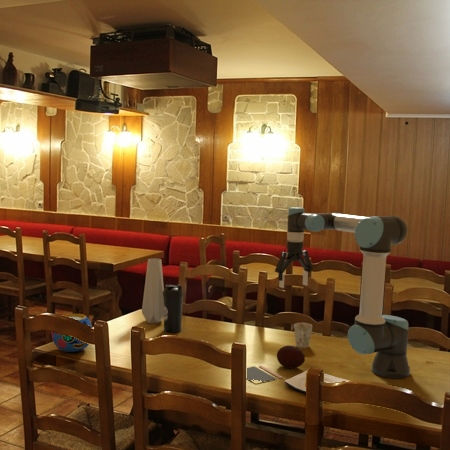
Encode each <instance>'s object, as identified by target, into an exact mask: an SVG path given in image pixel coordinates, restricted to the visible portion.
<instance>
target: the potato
mask: <svg viewBox="0 0 450 450" xmlns="http://www.w3.org/2000/svg"><path fill="white" fill-rule="evenodd" d="M276 358H277V361H278V363H279V364H280V366H282V367H283V368H286V369H297V368H299V367H300V366H302V365H303V364H304V363H305V361H306V360H305V359H306V357H305V354H304V352H303V351H302V350H301V348H299V347H297V346H296V345H283V346H282V347H281V348H279V349H278V350H277V353H276Z"/></svg>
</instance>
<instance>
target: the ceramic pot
mask: <svg viewBox="0 0 450 450" xmlns="http://www.w3.org/2000/svg"><path fill="white" fill-rule="evenodd" d="M61 316H65V317H69V318H73V319H75V320H78V321H79V322H81V323H83V324H86V325H88V326H90V327H91V328H93V325H92V322H91V321H90V319H89V317H87V316H86V315H84V314H81V313H68V314H62V315H61ZM51 338H52V341H53V344H54V345H55V347H56V348H57V349H58V350H61V351H64V352H67V353H76V352H80V351H82V350H84V349H86V348H87V347H88V346H89V345H90V343H89V344H87V343H84V342H82V341H80V340H78V339H76V338H74V337H71V336H65V335H60V334H56V333H53V332H52V331H51Z"/></svg>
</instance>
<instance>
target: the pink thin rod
mask: <svg viewBox="0 0 450 450" xmlns="http://www.w3.org/2000/svg"><path fill="white" fill-rule="evenodd" d="M258 366H259V367H258V368H260V367H261V368H260V369H261V370H263V369H264V371H265V370H266V371H265V372H267V371H268V372H267V373H269V374H270V375H272V374H273V376H274V375H275V376H274V377H275V378H278V379H279V378H280V380H281V378H282V379H283V378H284V376H281V375H279V374H278V373H276V372H274V371H272V370H270V369H269V368H267V367H265V366H263V365H258Z"/></svg>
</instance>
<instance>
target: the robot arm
mask: <svg viewBox="0 0 450 450" xmlns="http://www.w3.org/2000/svg"><path fill="white" fill-rule="evenodd" d="M305 210H306V209H305V208H304V207H299V206H298V207H297V206H295V207H292V206H291V207H289V208H288V211H287V212H288V213H287V228H286V229H287V231H286V232H287V234H286V235H287V236H286V240H287V241H286V250H287V251H285V252H284V251H281V253H280V257H279V260H278V262H277V265H276V267H275V269H274V272H275V273H277V274H278V279H277V280H278V283H279V284H278V286H279V288H281V289H284V288H285V273H284V272H285V271H286V270H287V269H288V267H289V266H290V264H291V263H292V262H296V261H297V262H298V263H299V264H300V265H301V266H302V267H301V268H303V271H302V286H306V287H307V286H308V283H309V282H308V281H309V280H308V279H309V277H310V272H312V270H313V269H314V268H313V265H312V263H311V259H310V257H309V251H308V250H305V249H304V238H305V237H304V235H305V230H306V231H309V232H321V231H324V230H325V231H326V230H327V231H328V230H330V231H331V230H332V231H339V232H347V233H354V240H355V241H356V243H357V245H358V246H359V251H360V252H361V254H363V255H362V256H363V257H362V271H361V272H362V273H361V283H360V284H361V287H360V299H359V300H360V301H359V314H357V315H356V316H355V318H354V324H353V325H352V326H350V327H349V329H348V331H347V339H348V342H349V345H350V346H351V348H352V349H353V350H354V351H355V353H357V354H360V355H371V354H373V353H376V354H375V356H374V359H373V361H372V364H371V372H373V374H375V375H377V376H379V377H384V378H388V379H405V378H408V377H409V376H410V375H411V367H410V366H409V361H408V356H407V355H408V354H407V351H408V340H409V339H408V338H409V321H408V320H406V319H405V318H402V317H399V316H396V315H395V316H394V315H389V314H383V307H384V306H383V305H384V304H383V303H384V295H385V291H384V290H385V276H386V268H387V267H386V265H387V257H388V255H390V254H392V253H391V252H392V246H396V245H399V244H401V243H403V242H404V241H405V239H406V238H407V236H408V233H409V227H408V224H407V223H406V221H405V220H404V218H402V217H400V216H398V215H381V216H380V215H379V216H377V215H376V216H374V215H372V216H363V215H362V216H361V215H355V214H354V215H352V214H344V213H340V212H328V213H327V212H325V213H322V212H321V213H319V212H318V213H307V212H306V211H305Z"/></svg>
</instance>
